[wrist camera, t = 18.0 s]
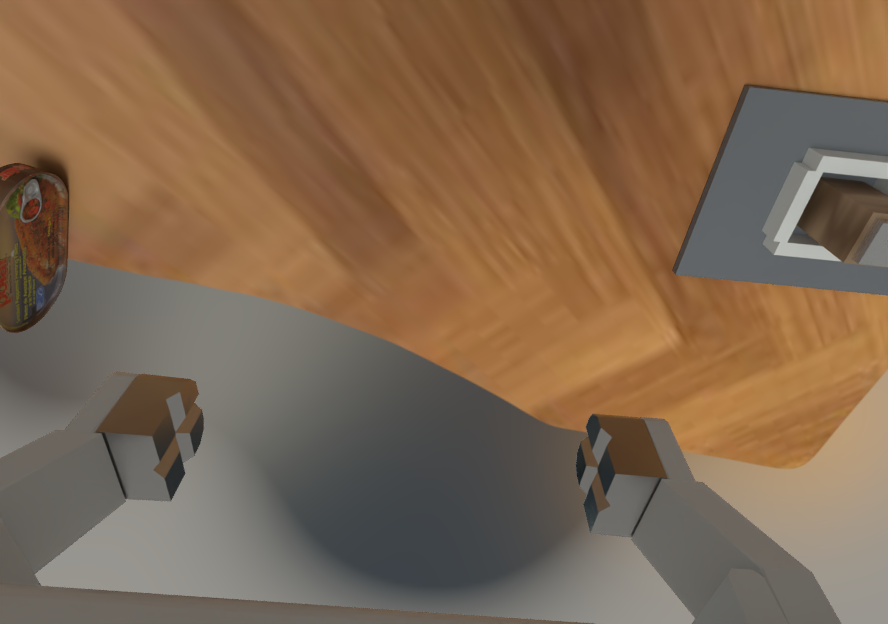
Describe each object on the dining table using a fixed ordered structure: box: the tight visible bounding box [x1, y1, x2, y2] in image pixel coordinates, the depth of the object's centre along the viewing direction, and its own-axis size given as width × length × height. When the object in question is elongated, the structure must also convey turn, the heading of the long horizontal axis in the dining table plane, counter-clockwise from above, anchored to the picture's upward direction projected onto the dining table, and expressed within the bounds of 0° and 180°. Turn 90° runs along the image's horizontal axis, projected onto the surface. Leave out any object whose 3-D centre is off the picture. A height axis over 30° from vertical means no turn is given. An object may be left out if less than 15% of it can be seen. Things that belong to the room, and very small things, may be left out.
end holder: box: [673, 85, 888, 295], centre depth 44 cm, size 16×20×3 cm
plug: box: [797, 177, 888, 268], centre depth 41 cm, size 4×4×8 cm
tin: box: [0, 163, 69, 333], centre depth 44 cm, size 15×3×8 cm, turn 157°
